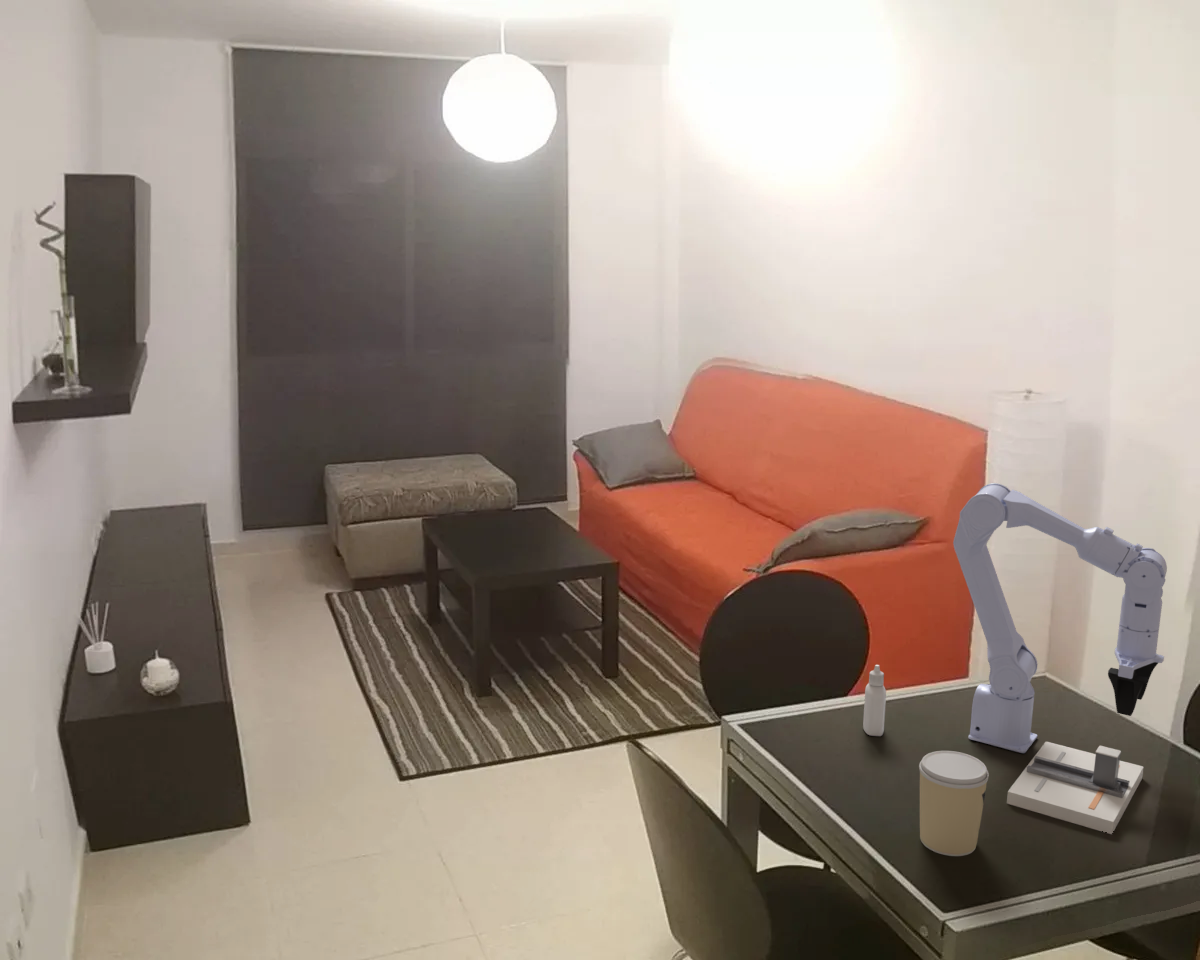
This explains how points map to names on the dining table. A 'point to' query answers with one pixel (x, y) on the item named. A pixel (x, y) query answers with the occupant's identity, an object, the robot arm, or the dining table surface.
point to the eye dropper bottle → (874, 703)
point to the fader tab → (1106, 767)
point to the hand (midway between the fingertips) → (1129, 705)
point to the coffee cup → (951, 801)
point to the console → (1073, 788)
